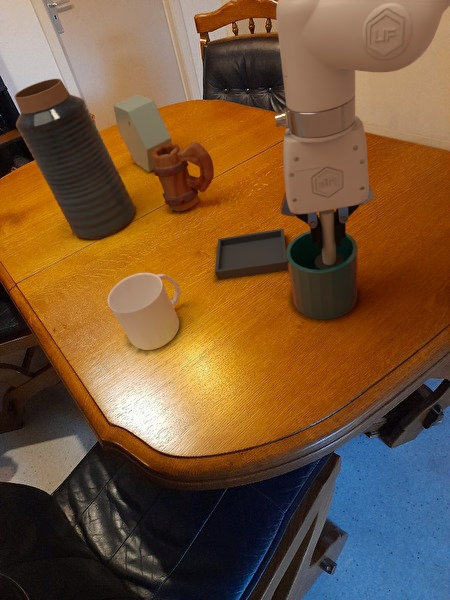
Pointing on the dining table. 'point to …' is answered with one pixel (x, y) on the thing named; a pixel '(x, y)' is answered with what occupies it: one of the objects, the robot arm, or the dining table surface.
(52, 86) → the vase
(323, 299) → the jar
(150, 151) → the pale green angular block
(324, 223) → the brush
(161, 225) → the dining table surface
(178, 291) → the mug
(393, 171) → the dining table surface
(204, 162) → the mug
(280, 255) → the tray
